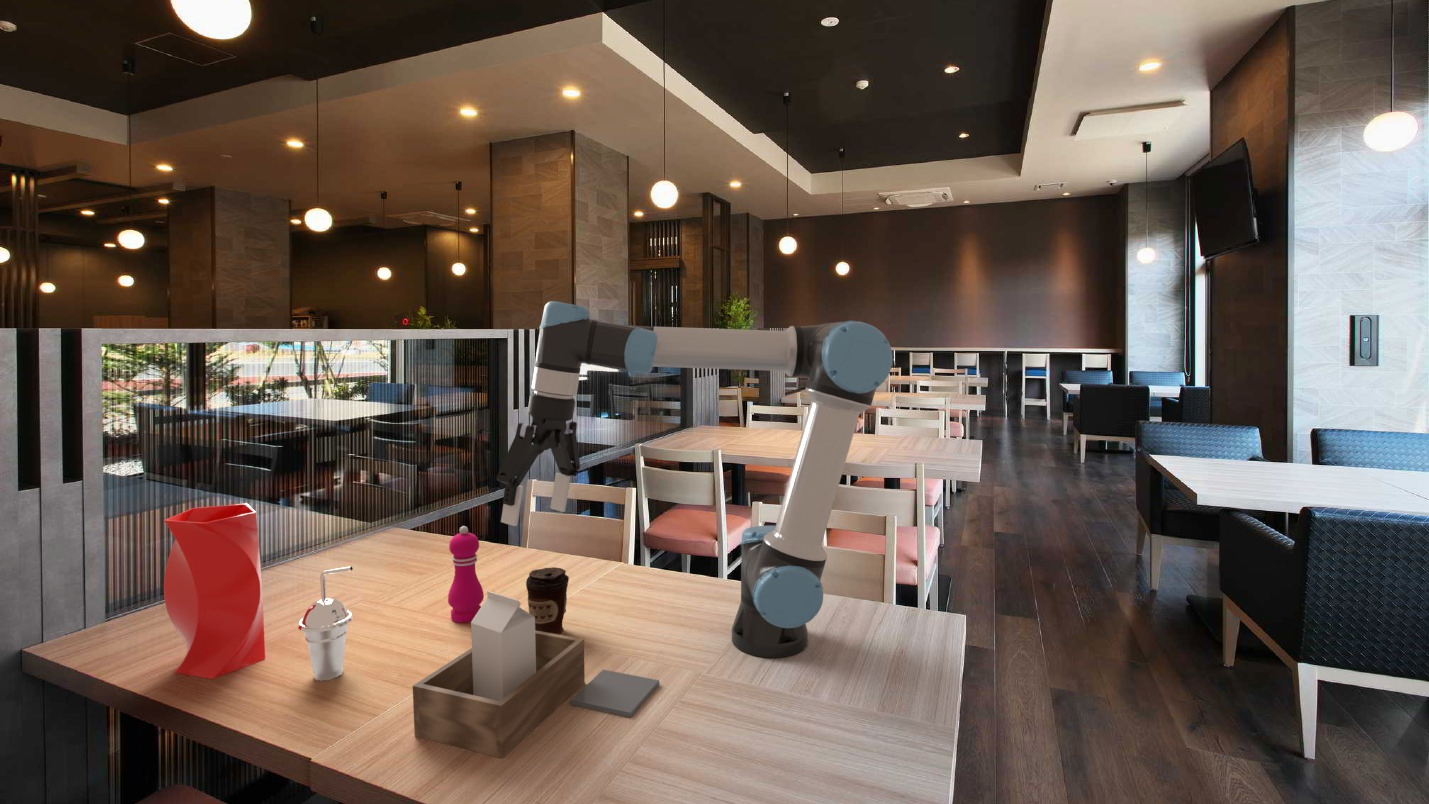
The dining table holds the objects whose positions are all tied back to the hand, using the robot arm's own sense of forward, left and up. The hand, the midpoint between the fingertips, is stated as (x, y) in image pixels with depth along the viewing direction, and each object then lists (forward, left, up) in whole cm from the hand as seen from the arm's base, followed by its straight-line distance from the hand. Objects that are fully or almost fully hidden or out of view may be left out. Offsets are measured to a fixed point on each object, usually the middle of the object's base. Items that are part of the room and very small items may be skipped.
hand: (534, 516), depth 119 cm
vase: (+59, +13, -30) cm, 68 cm away
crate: (0, +9, -30) cm, 31 cm away
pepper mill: (+30, -18, -30) cm, 46 cm away
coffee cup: (+9, -17, -30) cm, 36 cm away
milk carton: (0, +9, -30) cm, 31 cm away
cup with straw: (+36, +11, -30) cm, 48 cm away
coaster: (-15, -1, -30) cm, 33 cm away
